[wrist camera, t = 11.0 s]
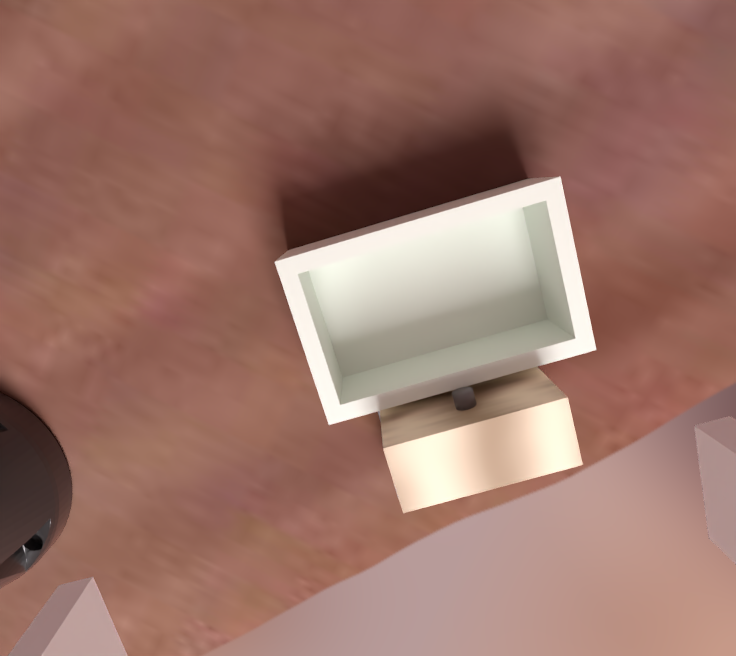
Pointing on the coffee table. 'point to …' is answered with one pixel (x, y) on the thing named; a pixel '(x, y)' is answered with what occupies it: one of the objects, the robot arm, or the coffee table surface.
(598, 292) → the coffee table surface
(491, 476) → the knobbed wooden block
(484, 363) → the box
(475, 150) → the coffee table surface
